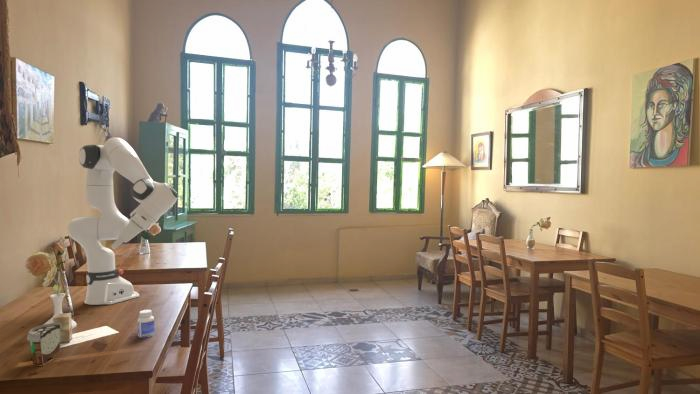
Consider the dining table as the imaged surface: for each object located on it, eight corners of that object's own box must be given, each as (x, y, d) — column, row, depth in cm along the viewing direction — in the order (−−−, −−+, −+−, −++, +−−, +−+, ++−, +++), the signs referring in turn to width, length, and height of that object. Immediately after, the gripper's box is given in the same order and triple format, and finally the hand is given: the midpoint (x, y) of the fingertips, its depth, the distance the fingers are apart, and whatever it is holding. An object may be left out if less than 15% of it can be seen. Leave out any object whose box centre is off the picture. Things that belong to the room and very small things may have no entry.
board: (106, 328, 169) (106, 325, 169) (119, 335, 162) (119, 332, 162) (44, 344, 154) (44, 340, 154) (56, 352, 147) (56, 348, 147)
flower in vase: (44, 328, 169) (41, 263, 168) (79, 324, 174) (77, 260, 172) (35, 340, 157) (33, 270, 156) (73, 336, 162) (71, 267, 160)
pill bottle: (158, 336, 161) (157, 309, 161) (146, 341, 156) (146, 314, 156) (146, 334, 163) (145, 308, 163) (134, 339, 158) (133, 312, 158)
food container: (42, 352, 147) (41, 322, 146) (62, 351, 148) (61, 321, 147) (18, 368, 135) (17, 335, 134) (40, 368, 135) (38, 335, 135)
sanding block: (72, 338, 156) (71, 312, 156) (69, 342, 152) (68, 316, 152) (57, 340, 155) (56, 314, 154) (54, 344, 150) (53, 318, 150)
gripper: (137, 211, 180) (110, 236, 176) (134, 215, 161) (103, 244, 158) (149, 221, 182) (123, 247, 178) (147, 227, 163) (118, 256, 160)
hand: (113, 246), depth 168 cm, fingers open, 8 cm apart
